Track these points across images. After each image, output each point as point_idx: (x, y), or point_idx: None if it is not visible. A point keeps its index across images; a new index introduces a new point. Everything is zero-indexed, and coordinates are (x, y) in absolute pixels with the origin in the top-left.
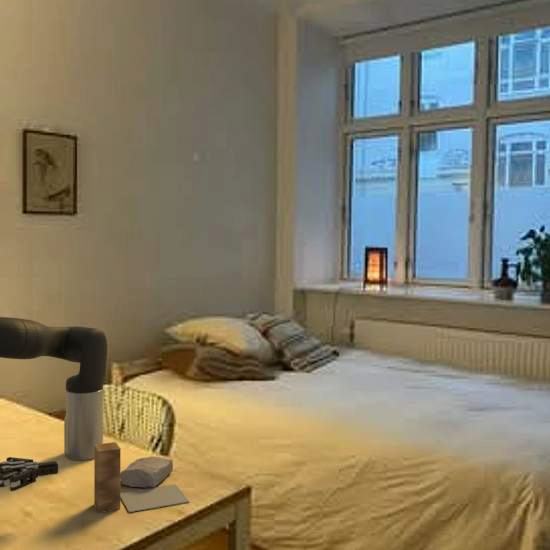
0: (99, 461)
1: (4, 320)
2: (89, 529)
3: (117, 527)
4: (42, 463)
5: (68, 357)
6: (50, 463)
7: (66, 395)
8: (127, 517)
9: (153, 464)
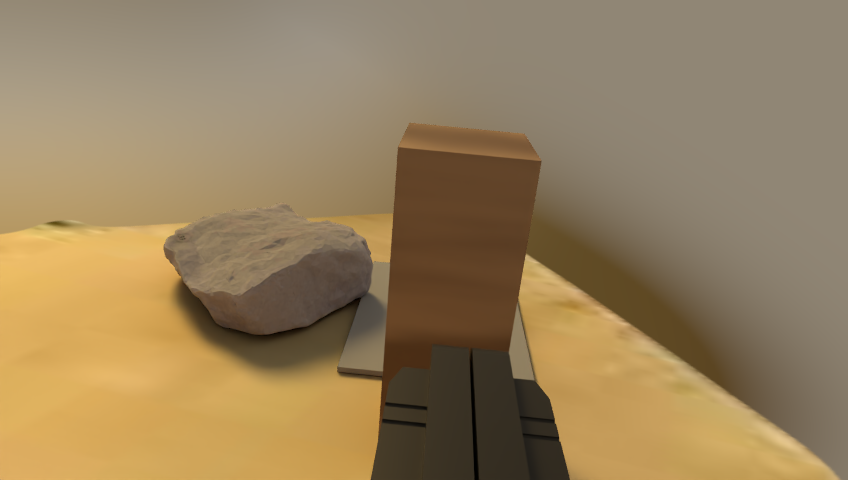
0: (530, 222)
1: None
2: None
3: (666, 457)
4: (458, 447)
5: None
6: (494, 387)
7: None
8: (572, 406)
9: (296, 227)
